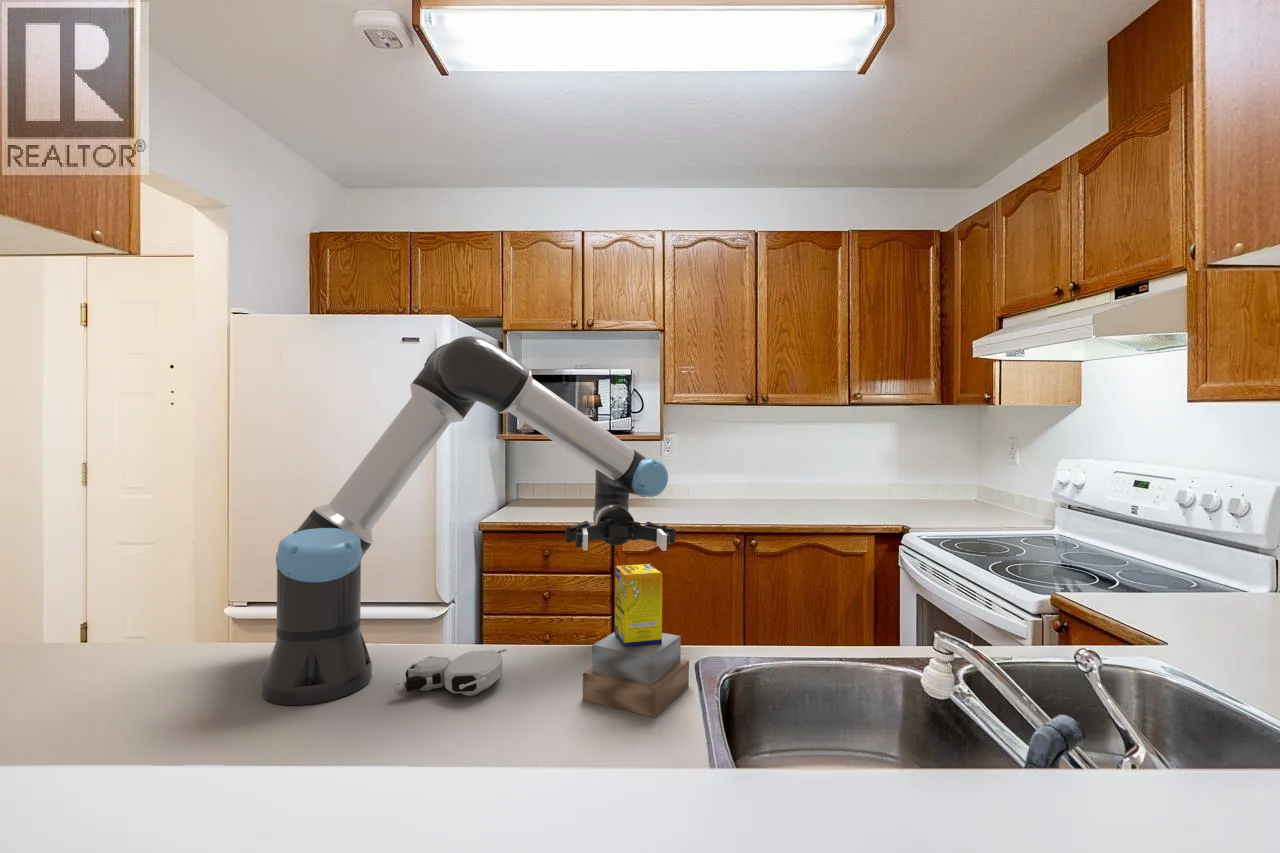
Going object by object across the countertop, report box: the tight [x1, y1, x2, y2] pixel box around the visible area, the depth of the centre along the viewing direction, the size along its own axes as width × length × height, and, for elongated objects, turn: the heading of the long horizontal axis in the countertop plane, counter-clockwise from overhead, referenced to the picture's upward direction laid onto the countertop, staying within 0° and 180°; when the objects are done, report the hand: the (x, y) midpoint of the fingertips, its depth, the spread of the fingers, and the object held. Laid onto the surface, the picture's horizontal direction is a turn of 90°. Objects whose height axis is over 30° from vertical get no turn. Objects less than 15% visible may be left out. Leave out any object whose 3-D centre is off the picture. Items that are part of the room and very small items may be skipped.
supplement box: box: [614, 563, 664, 648], centre depth 95 cm, size 6×6×11 cm
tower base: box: [582, 631, 690, 718], centre depth 95 cm, size 12×12×8 cm
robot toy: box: [393, 648, 508, 697], centre depth 96 cm, size 12×4×15 cm
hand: (625, 542), depth 106 cm, fingers open, 13 cm apart
